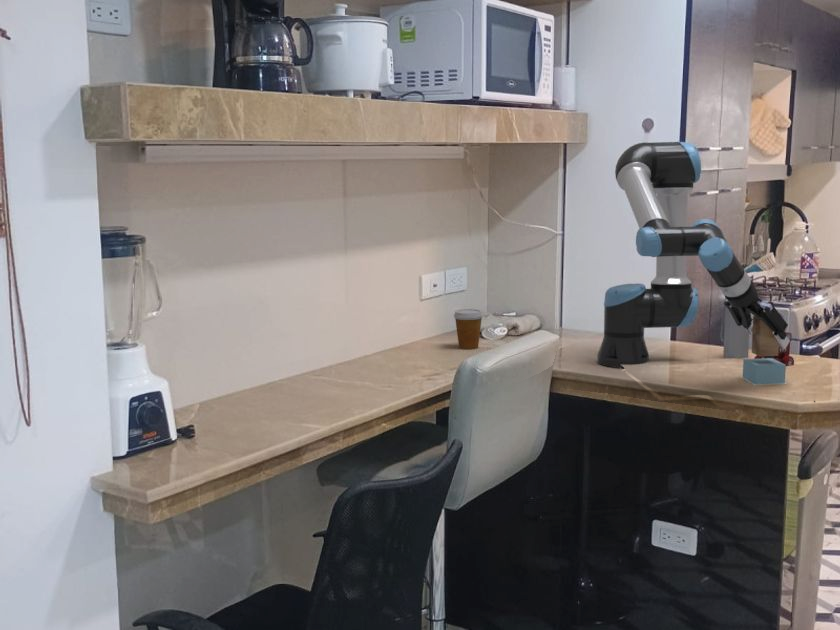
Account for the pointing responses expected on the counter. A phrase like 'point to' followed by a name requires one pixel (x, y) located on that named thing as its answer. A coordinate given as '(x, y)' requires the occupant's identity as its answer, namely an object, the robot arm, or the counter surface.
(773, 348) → the walnut block
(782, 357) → the toy fire truck
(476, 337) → the disposable coffee cup
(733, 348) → the water bottle
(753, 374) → the teal block
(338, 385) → the counter surface
